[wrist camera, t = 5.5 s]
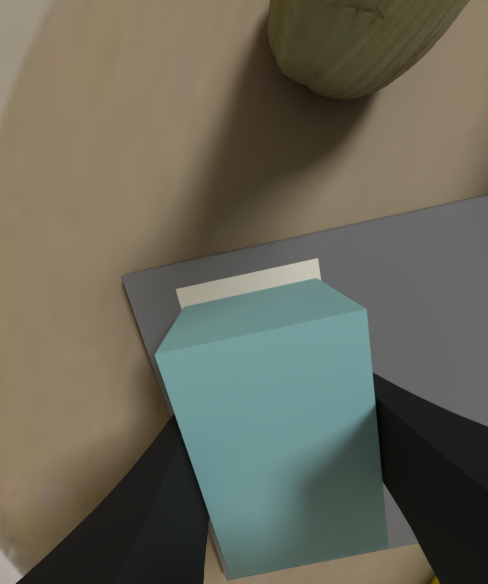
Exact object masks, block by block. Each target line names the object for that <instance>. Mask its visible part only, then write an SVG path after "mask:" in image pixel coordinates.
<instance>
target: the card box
mask: <svg viewBox="0 0 488 584" xmlns="http://www.w3.org/2000/svg"><path fill="white" fill-rule="evenodd" d="M155 358H156V361H157V363H158V366H159V369H160V372H161V375H162V378H163V381H164V384H165V387H166V390H167V393H168V396H169V399H170V401H171V404H172V407H173V410H174V413H175V416H176V419H177V422H178V425H179V428H180V431H181V434H182V437H183V440H184V442H185V445H186V448H187V451H188V454H189V457H190V460H191V463H192V466H193V469H194V472H195V475H196V478H197V480H198V483H199V486H200V489H201V492H202V495H203V498H204V501H205V504H206V507H207V510H208V513H209V516H210V518H211V521H212V524H213V527H214V530H215V533H216V536H217V539H218V542H219V545H220V548H221V551H222V554H223V556H224V559H225V562H226V565H227V568H228V571H229V574H230V577H231V579H235V578H240V577H245V576H250V575H256V574H261V573H266V572H271V571H276V570H281V569H286V568H291V567H296V566H301V565H306V564H311V563H316V562H321V561H326V560H331V559H336V558H341V557H346V556H351V555H356V554H361V553H366V552H371V551H376V550H381V549H386V548H389V546H388V535H387V525H386V514H385V503H384V492H383V481H382V470H381V459H380V448H379V438H378V427H377V416H376V405H375V394H374V383H373V372H372V362H371V351H370V340H369V329H368V318H367V309H366V308H364V307H363V306H361V305H359V304H358V303H356V302H355V301H353V300H351V299H350V298H348V297H346V296H345V295H343V294H342V293H340V292H338V291H337V290H335V289H334V288H332V287H330V286H329V285H327V284H326V283H324V282H322V281H321V280H319V279H318V278H314V279H309V280H305V281H300V282H295V283H291V284H286V285H282V286H277V287H272V288H268V289H263V290H259V291H254V292H250V293H245V294H240V295H236V296H231V297H227V298H222V299H217V300H213V301H208V302H204V303H199V304H194V305H190V306H185V307H184V308H183V310H182V311H181V313H180V314H179V316H178V318H177V319H176V321H175V322H174V324H173V326H172V327H171V329H170V330H169V332H168V334H167V335H166V337H165V339H164V340H163V342H162V343H161V345H160V347H159V348H158V350H157V351H156V353H155Z"/></svg>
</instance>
